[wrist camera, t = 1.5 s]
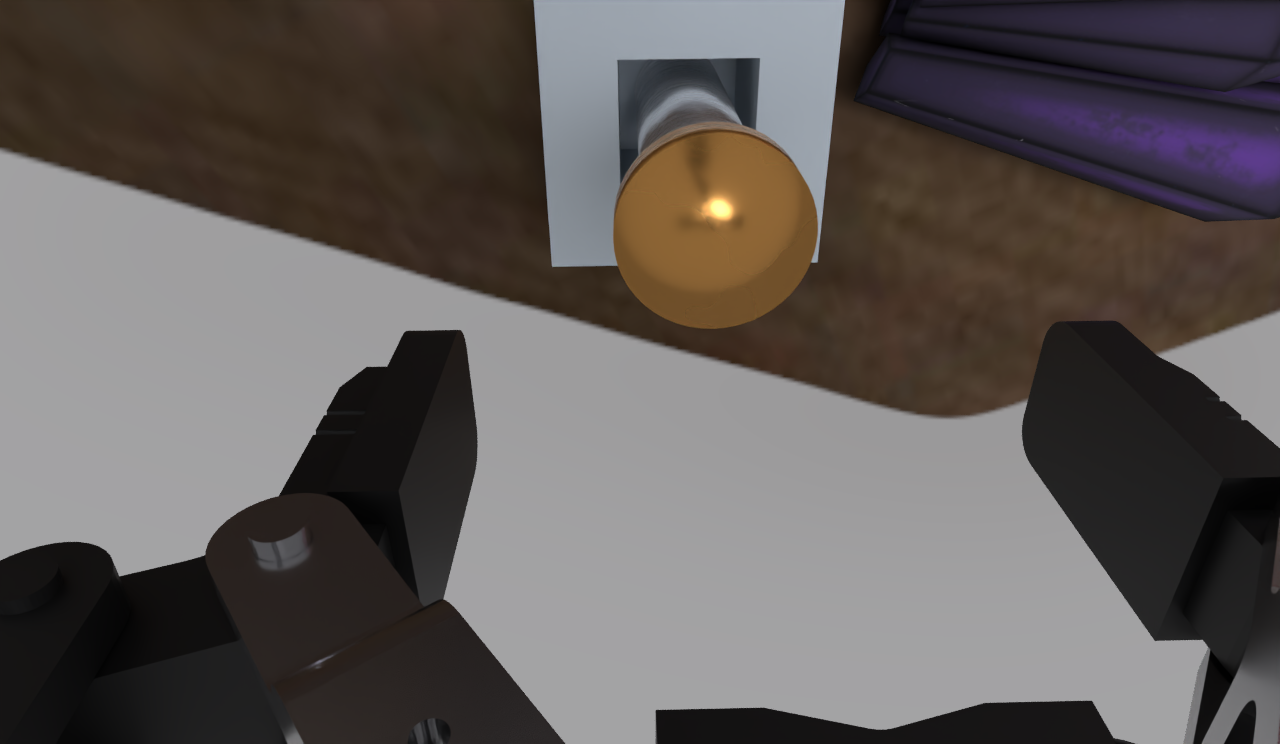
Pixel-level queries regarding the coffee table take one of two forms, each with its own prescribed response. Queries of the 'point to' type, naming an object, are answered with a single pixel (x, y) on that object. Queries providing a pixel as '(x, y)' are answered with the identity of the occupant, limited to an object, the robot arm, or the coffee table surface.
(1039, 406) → the robot arm
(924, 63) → the crystal
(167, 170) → the coffee table surface
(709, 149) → the lock pin
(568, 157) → the tensioner bracket
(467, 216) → the coffee table surface
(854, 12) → the coffee table surface
